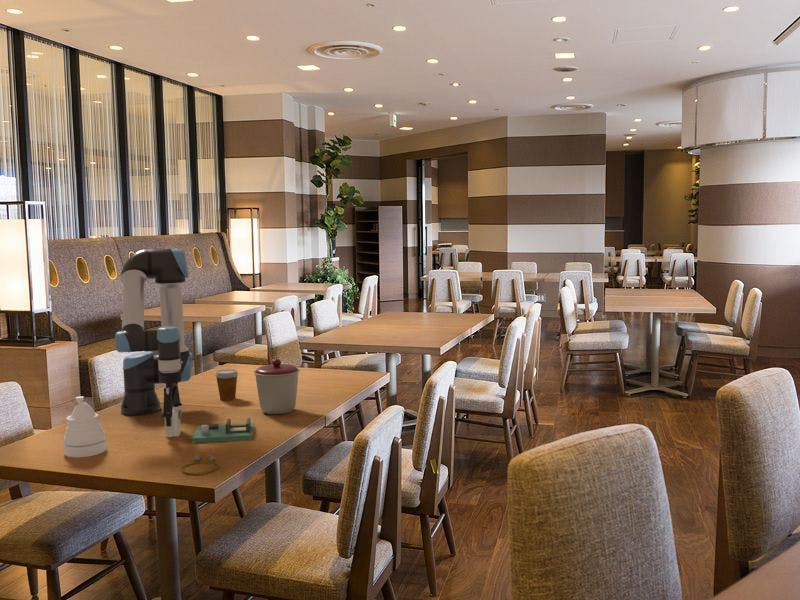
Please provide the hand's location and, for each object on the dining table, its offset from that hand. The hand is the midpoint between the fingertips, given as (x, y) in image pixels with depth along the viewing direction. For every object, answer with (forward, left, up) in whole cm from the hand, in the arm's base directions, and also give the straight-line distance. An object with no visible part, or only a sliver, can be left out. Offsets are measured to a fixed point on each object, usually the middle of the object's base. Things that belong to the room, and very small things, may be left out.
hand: (173, 429), depth 262 cm
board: (+18, -3, -2) cm, 18 cm away
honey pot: (-26, -14, -2) cm, 30 cm away
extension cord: (+15, -37, -3) cm, 40 cm away
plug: (0, 0, -2) cm, 2 cm away
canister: (+36, +26, -2) cm, 45 cm away
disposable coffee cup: (+14, +51, -2) cm, 53 cm away
